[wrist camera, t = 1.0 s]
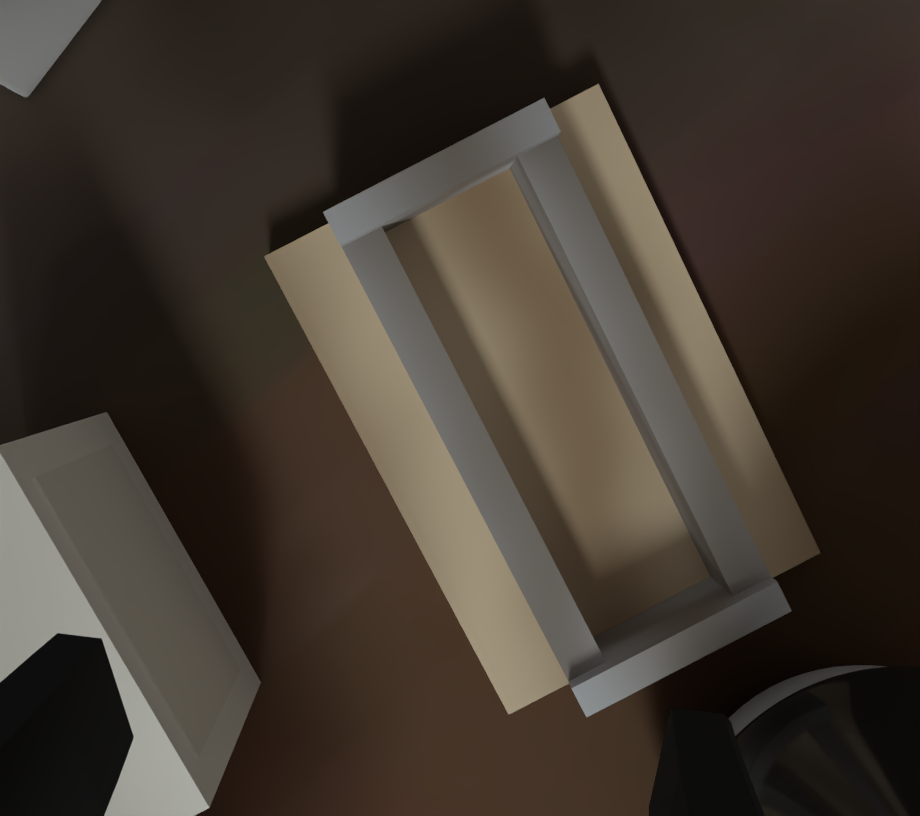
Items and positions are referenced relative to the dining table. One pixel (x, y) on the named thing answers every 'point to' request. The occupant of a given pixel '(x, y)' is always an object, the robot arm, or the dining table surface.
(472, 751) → the dining table surface
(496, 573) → the door frame
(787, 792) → the egg shaped speaker
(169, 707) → the door panel
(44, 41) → the milk carton
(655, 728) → the dining table surface
